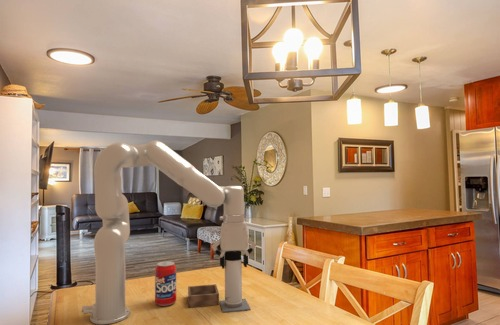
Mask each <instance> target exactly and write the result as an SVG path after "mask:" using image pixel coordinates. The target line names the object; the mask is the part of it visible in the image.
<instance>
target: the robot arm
mask: <svg viewBox="0 0 500 325" xmlns="http://www.w3.org/2000/svg"><path fill="white" fill-rule="evenodd" d="M150 166H151V167H152V166H154V167H155V168H156V169H158V170H159V171H160V172H162V173H163V174H164V175H166V176H167V177H168V178H169V179H170V180H172V181H174V182H175V183H176V184H177V185H178V186H180V187H183V189H185V190H187V191H188V192H190V193H191V195H194V196H195V197H196V198H197V199H199V200H200V201H202V202H203V203H204V204H205V205H207V206H208V207H211V208H218V207H220V206H222V205H223V214H222V216H221V215H220V216H219V221H223V222H222V223H221V227H220V235H219V236H220V239H218V240H217V241H216V242H214V243H213V244H212V245H211V248H212V250H213V251H214V252H215V254H216V255H217V256H219V266H220V267H221V269H223V270H225V252H226V251H241V252H242V251H243V253H244V254H243V257H242V259H243V260H242V261H243V264H242V265H243V266H244V267H245V268H247V267H248V265H249V256H250V254H251V253H252V252H253V250H254V249H255V247H256V246H257V244H256V243H255V242H254V241H252V240H251V239H250V238H249V234H248V225H247V222H245V210H244V209H245V202H244V201H245V198H244V197H245V193H244V187H243V186H242V185H227V186H223V185H222V186H220V185H217V184H216V183H215V182H213V181H212V180H211V179H210V178H209V177H207V176H205V175H204V174H203V173H202V172H201V171H199V169H197V168H196V167H195V166H194V165H193V164H191V163H190V162H189V161H188V160H186V158H184V157H182V156H181V155H180V154H178V153H177V152H176V151H174V150H173V149H171V147H169V146H167V145H166V144H165V143H164V142H162V141H160V140H151V141H150V142H148V143H146V144H145V143H144V144H128V143H127V142H126V143H125V142H115V143H112V144H109V145H107V146H106V147H104V148H103V149H102V150H101V151H100V152H99V153H98V155H97V157H96V159H95V163H94V166H93V167H94V168H93V170H94V171H93V174H94V198H95V199H94V200H95V201H94V204H95V205H94V207H95V212H96V215H97V216H98V217H99V218H100V219H101V220H102V226H101V227H100V228H99V229H98V230H97V232H96V234H95V236H94V240H93V249H94V250H93V251H94V257H95V260H94V261H95V263H94V264H95V265H94V266H95V286H94V288H95V293H94V294H95V297H94V298H95V299H94V300H95V303H93V304H92V305H82V307H81V313H83V315H87V314H91V315H90V316H89V320H90V321H89V322H91V323H92V324H96V325H108V324H109V325H110V324H115V323H118V322H122V321H124V320H125V319H127V318H128V317H129V316H130V314H131V309H130V308H129V307H127V306H126V250H125V247H126V246H125V245H126V244H125V243H126V242H128V239H129V237H130V234H131V229H130V228H131V226H130V209H129V201H128V199H127V197H126V196H125V195H124V194H123V192H122V179H121V171H122V168H124V169H125V168H138V167H139V168H141V167H150ZM249 244H250V245H249ZM218 246H220V250H219V249H218Z"/></svg>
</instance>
